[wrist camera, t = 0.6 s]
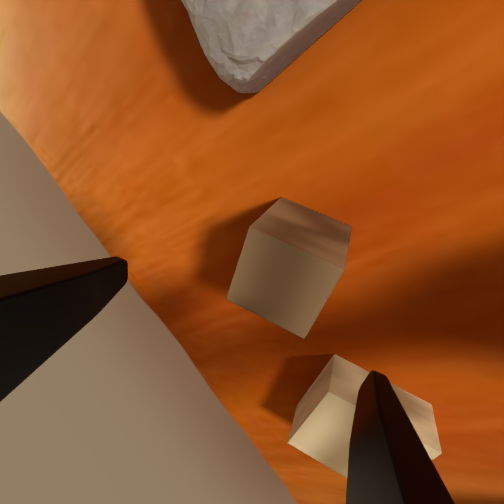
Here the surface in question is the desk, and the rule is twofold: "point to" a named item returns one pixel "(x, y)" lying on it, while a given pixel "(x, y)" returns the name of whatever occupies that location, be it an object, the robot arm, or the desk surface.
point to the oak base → (347, 415)
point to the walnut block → (290, 265)
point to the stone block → (260, 35)
